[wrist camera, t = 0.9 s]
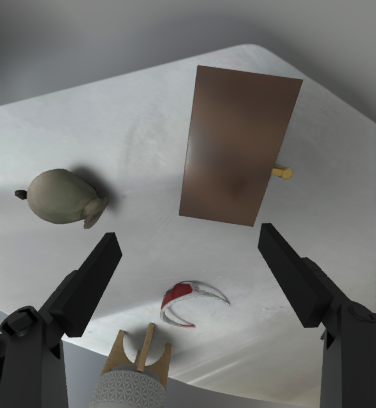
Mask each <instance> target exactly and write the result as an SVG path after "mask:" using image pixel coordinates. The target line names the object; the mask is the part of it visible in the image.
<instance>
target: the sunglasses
mask: <svg viewBox="0 0 376 408" xmlns="http://www.w3.org/2000/svg"><path fill="white" fill-rule="evenodd" d="M198 296H204V297H210V298H215V299H217V300H220V301H223V302H224V303H226V304H227V305H228V306H230V304H229V303H228V302H227V301H226V300H224V299H222V298H220V297H219V296H217V295H215V294H213V293H210V292H207V291H204V290H200V289H199V287H198V285H195V284H194V283H192V282H182V283H179V284H177V285H175V286H174V288H173V289H172V290H171V292H170V294H168V292H167V293H166V295H164V298H163V302H162V306H161V312H160V318H161V320H162V321H164V322H165V323H168V324H170V325H174V326H179V327H184V328H195V325H182V324H179V323H176V322H174V321H172V320H171V319H169V318H168V317H167V316H166V315H165V309H166V308H168V307H169V306H170V305H172V304H174V303H176V302H178V301H180V300H183V299H187V298H191V297H198ZM186 297H187V298H186Z"/></svg>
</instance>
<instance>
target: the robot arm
mask: <svg viewBox="0 0 376 408" xmlns="http://www.w3.org/2000/svg"><path fill="white" fill-rule="evenodd" d="M258 249H259V251H260V252H261V254H262V256H263V258H264V259H265V261H266V263H267V264H268V266H269V268H270V270H271V271H272V273H273V275H274V277H275V278H276V280H277V282H278V283H279V285H280V287H281V289H282V290H283V292H284V294H285V295H286V297H287V299H288V301H289V302H290V304H291V306H292V308H293V309H294V311H295V313H296V314H297V316H298V318H299V320H300V321H301V323H302V325H303V327H304V328H314V327H318V326H319V324H320V323H321V322H322V323H323V325H324V326H325V328H326V329H325V331H324V333H323V334H322V336H321V338H320V339H321V340H323V339H324V349H323V365H322V380H321V396H320V408H376V313H372V312H371V311H370V310H369V309H367V308H366V307H365V306H363V305H361V304H359V303H357V302H354V301H351V300H350V299H349V298H348V297H347V296H346V295H345V294H344V293H343V292H342V291H341V290H340V289H339V288H338V287H337V286H336V284H335V283H334V282H333V281H332V280H331V279H330V278H329V277H327V275H326V274H325V273H324V272H323V271H322V270H321V268H320V267H319V266H318V265H317V264H316V263H315V262H313V261H312V260H310V259H309V258H307V257H305V258H300V256H299V255H298V254H297V253H296V252H295V251H294V250H293V248H292V247H291V246H290V245H289V244H288V243H287V241H286V240H285V239H284V238H283V237H282V236H281V234H280V233H279V232H278V231H277V230H276V229H275V227H274V226H273V225H272V224H271V223H262V225H261V231H260V237H259V243H258ZM121 257H122V252H121V249H120V246H119V244H118V241H117V238H116V235H115V232H111V233H106V234H105V235H104V236H103V238H102V239H101V240H100V242H99V243H98V244H97V246H96V247H95V248H94V250H93V251H92V252H91V254H90V255H89V256H88V258H87V259H86V260H85V261H84V263H83V264H82V265H81V267H80V268H79V269H78V270H74V271H72V272H71V273H70V274H69V275H67V276H66V277H65V279H64V280H63V281H62V282H61V284H60V285H59V286H58V287H57V289H56V291H54V292H53V293H52V295H51V296H50V297H49V298H48V300H47V301H46V302H45V303H44V305H43V306H42V307H41V308H40V310H39V311H38V312H37V311H36V309H35V308H34V307H32V306H25V307H22V308H20V309H18V310H16V311H15V312H13V313H12V314H10V315H9V316H8V317H7V318H6V319H5V320H4V321H3V322H2V323H1V325H0V331H1V332H2V334H0V408H68V398H67V397H68V396H67V385H66V375H65V363H64V353H63V342H62V340H61V338H62V336H63V334H64V333H65V334H66V335H67V336H68V337H69V338H72V337H82V335H83V333H84V331H85V329H86V327H87V325H88V323H89V321H90V319H91V317H92V315H93V313H94V311H95V309H96V307H97V305H98V303H99V301H100V299H101V297H102V295H103V293H104V291H105V289H106V287H107V285H108V283H109V281H110V279H111V277H112V275H113V273H114V271H115V269H116V267H117V265H118V263H119V261H120V259H121Z"/></svg>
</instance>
